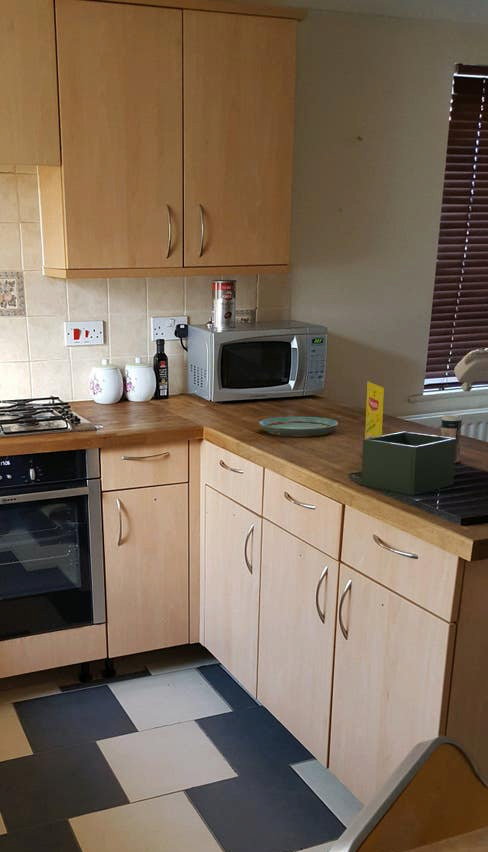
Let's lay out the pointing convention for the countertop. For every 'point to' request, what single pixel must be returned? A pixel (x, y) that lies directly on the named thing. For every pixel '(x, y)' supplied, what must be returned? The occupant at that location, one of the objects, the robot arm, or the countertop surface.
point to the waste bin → (408, 462)
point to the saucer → (298, 426)
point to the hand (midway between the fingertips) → (482, 388)
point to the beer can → (452, 430)
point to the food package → (374, 410)
